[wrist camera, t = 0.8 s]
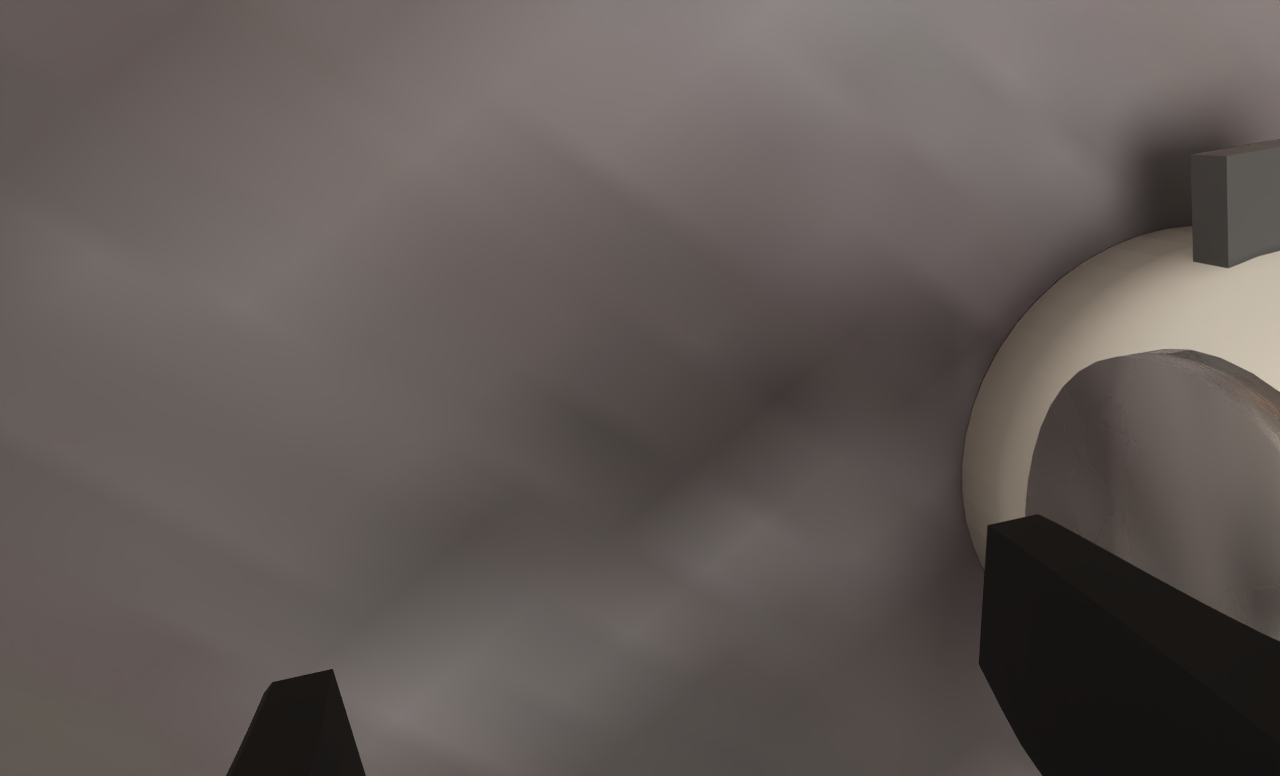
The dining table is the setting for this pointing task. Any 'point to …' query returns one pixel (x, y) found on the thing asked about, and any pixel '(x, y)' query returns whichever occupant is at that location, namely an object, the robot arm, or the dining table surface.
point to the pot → (1135, 319)
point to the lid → (1171, 475)
